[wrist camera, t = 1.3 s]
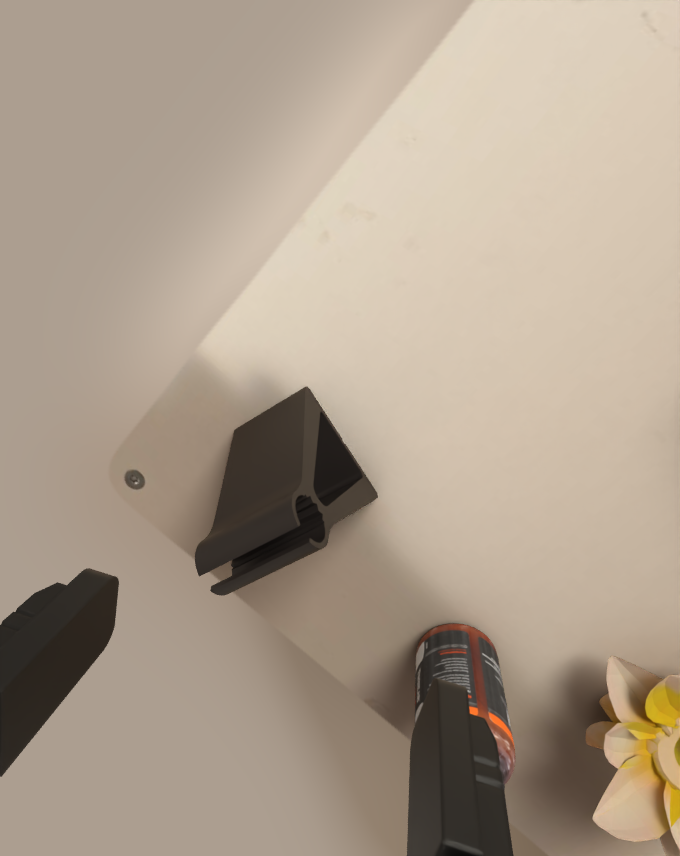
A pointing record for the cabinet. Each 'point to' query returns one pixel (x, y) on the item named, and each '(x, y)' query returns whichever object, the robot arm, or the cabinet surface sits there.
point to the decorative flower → (640, 755)
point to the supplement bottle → (468, 680)
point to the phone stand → (281, 492)
